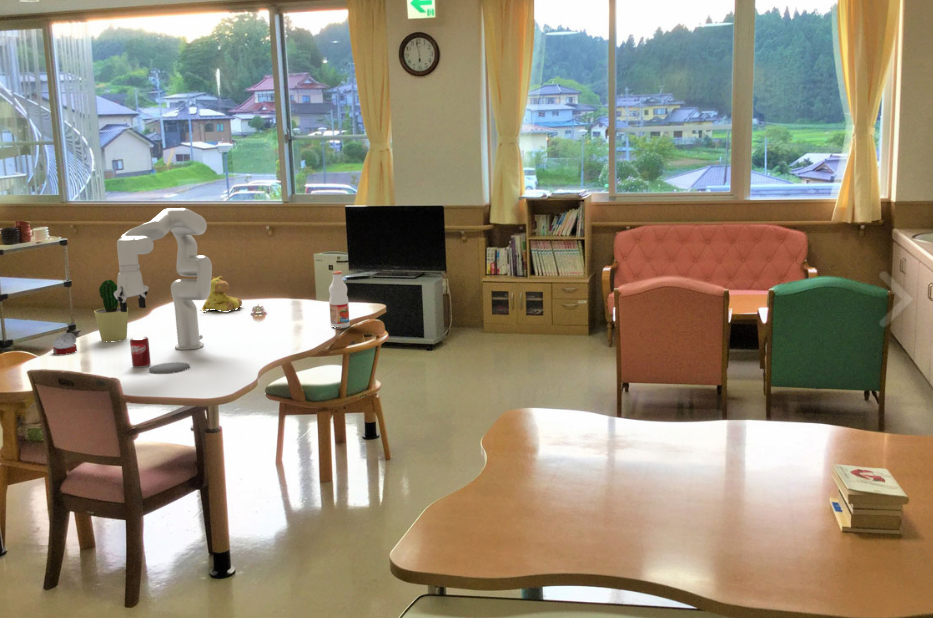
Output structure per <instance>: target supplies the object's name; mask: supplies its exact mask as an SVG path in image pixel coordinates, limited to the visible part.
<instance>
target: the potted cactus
mask: <svg viewBox="0 0 933 618" xmlns="http://www.w3.org/2000/svg"><path fill="white" fill-rule="evenodd" d="M99 283H100V284H101V285H100V284H99V285H100V286H99V287H98V291H99V292H98V293H99V296H98V298H101V300H102V303H101V304H102V305H103V308H99V309H96V310H94V311H93V312H94V316H95V320H96V324H97V327H98V331H99V336H100V339H101V342H103V341H105V342H104V343H112V342H111V341H117V342H120V341H119V340H123V341H125V340H124V339H126V338H127V337H128V323H129V322H128V320H129V308H128V307H127V312H121V310H120V306H119V302H118V300H116V297H115V296H114V292H115V291H116V290H118V289H117V282H116V283H115V280H114V281H113V279H106V280H103V281H102V283H101V282H99ZM106 341H107V342H106Z"/></svg>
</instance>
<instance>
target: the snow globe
mask: <svg viewBox="0 0 933 618" xmlns="http://www.w3.org/2000/svg"><path fill="white" fill-rule="evenodd" d="M52 342H53V343H52V346H53V347H52V352H53V354H54V355H56V354H63V355H67V354H66V353H70V354H73V353H72V352H74V353H76V352H75V351H77V352H78V347H77V344H76V343H77V336H76V335H75V333H72V332H65V333H62V334H60V335H58V336H57V337H56V338H55V339H54V340H53V341H52Z"/></svg>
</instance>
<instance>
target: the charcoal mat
mask: <svg viewBox="0 0 933 618" xmlns="http://www.w3.org/2000/svg"><path fill="white" fill-rule="evenodd" d="M187 368H188V369H190V363H188V362H181V361H180V362H179V361H177V362H175V361H174V362H172V361H171V362H164V363H159V364H155V365H152V366H149V368H148V372H149V371H150V372H149V373H151V372H153V373H152V374H156V373H165V374H174V373H173V372H175V373H180V372H183V370H184V371H186V370H188V369H187ZM185 369H186V370H185ZM179 371H180V372H179Z"/></svg>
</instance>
